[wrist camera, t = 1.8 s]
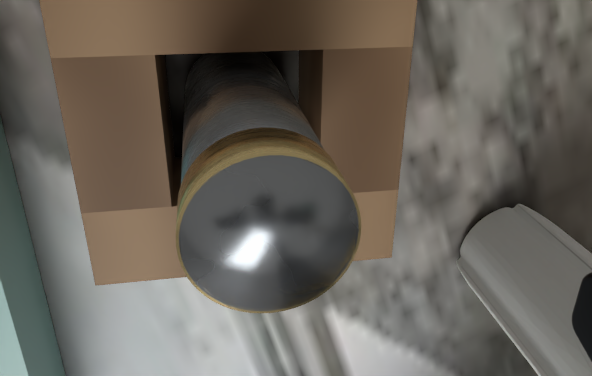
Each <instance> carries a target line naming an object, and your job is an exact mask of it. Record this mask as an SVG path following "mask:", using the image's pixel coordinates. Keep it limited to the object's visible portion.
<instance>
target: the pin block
mask: <svg viewBox="0 0 592 376" xmlns="http://www.w3.org/2000/svg"><path fill="white" fill-rule="evenodd" d="M39 2H40V7H41V12H42V17H43V22H44V27H45V32H46V37H47V42H48V47H49V52H50V57H51V62H52V67H53V73H54V78H55V83H56V88H57V93H58V98H59V103H60V108H61V113H62V118H63V123H64V128H65V133H66V138H67V143H68V148H69V154H70V159H71V164H72V169H73V174H74V179H75V184H76V189H77V194H78V199H79V204H80V209H81V214H82V219H83V224H84V230H85V235H86V240H87V245H88V250H89V255H90V260H91V265H92V270H93V275H94V280H95V285H105V284H116V283H126V282H137V281H148V280H158V279H169V278H179V277H187V276H186V274H185V273H184V271H183V269H182V267H181V264H180V261H179V259H178V254H177V249H176V221H177V203H178V194H179V190H180V187H181V170H182V157H179V158H175V151H174V141H173V131H172V122H171V112H170V102H169V92H168V83H167V73H166V63H165V55H166V54H198V53H229V52H260V51H292V50H299V107H300V108H301V110H302V112H303V114H304V115H305V117H306V119H307V120H308V122H309V124H310V126H311V127H312V129H313V131H314V133H315V134H316V136H317V138H318V139H319V141H320V143H321V145H322V146H323V148H324V150H325V151H326V152H327V153H328V154H329V155H330V157H331V158H332V159H333V161H334V162H335V164H336V165H337V167H338V169H339V170H340V172H341V174H342V175H343V177H344V179H345V181H346V182H347V184H348V186H349V187H350V189H351V191H352V193H353V195H354V197H355V199H356V201H357V204H358V207H359V210H360V216H361V236H360V242H359V246H358V249H357V252H356V254H355V257H354V259H353V261H359V260H369V259H380V258H390V257H392V247H393V237H394V227H395V217H396V207H397V197H398V187H399V177H400V167H401V157H402V147H403V137H404V127H405V117H406V107H407V97H408V88H409V78H410V68H411V58H412V48H413V38H414V28H415V18H416V8H417V0H39Z"/></svg>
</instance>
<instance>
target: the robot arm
mask: <svg viewBox="0 0 592 376" xmlns="http://www.w3.org/2000/svg"><path fill="white" fill-rule="evenodd" d="M572 326H573V329H574V332H575V334H576V336H577V337H578V339H579V341H580V343H581V344H582V346H583V348H584V350H585V351H586V353H587V355H588V357H589V358H590V360H591V362H592V272H591V273H589V274H586V275H585V277H584V278H583V279H582V282H581V285H580V288H579V292H578V295H577V299H576V302H575V305H574V309H573V312H572Z"/></svg>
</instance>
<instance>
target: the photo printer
mask: <svg viewBox="0 0 592 376" xmlns="http://www.w3.org/2000/svg"><path fill="white" fill-rule="evenodd" d="M460 255H461V257H460V258H459V259H458V260H457V261H456V264H457V266H458V268H459V270H460V272H461V274H462V275H463V277H464V279H465V280H466V282H467V283H468V285H469V286H470V287H471V288H472V290H473V291H474V292H475V294H476V295H477V296H478V297H479V299H480V300H481V301H482V303H483V304H484V305H485V307H486V308H487V309H488V310H489V312H490V313H491V314H492V316H493V317H494V318H495V320H496V321H497V322H498V323H499V325H500V326H501V327H502V329H503V330H504V331H505V333H506V334H507V335H508V336H509V338H510V339H511V340H512V342H513V343H514V344H515V346H516V347H517V348H518V349H519V351H520V352H521V353H522V355H523V356H524V357H525V359H526V360H527V361H528V362H529V364H530V365H531V366H532V368H533V369H534V370H535V372H536V373H537V374H538V375H539V376H592V362H591V360H590V358H589V357H588V355H587V353H586V351H585V350H584V348H583V346H582V344H581V343H580V341H579V339H578V337H577V336H576V334H575V332H574V329H573V326H572V312H573V309H574V305H575V302H576V299H577V295H578V292H579V288H580V285H581V282H582V279H583V278H584V277H585V275H586V274H589V273H591V272H592V253H590V252H589V251H588V250H587V249H585V248H584V247H583V246H582V245H581V244H579V243H578V242H577V241H575V240H574V239H573V238H572V237H570V236H569V235H568V234H567V233H565V232H564V231H563V230H562V229H560V228H559V227H558V226H557V225H555V224H554V223H553V222H551V221H550V220H548V219H547V218H545V217H544V216H542V215H541V214H539V213H537V212H536V211H534V210H532V209H530V208H528V207H526V206H524V205H522V204H517V205H516V206H515V207H514V208H509V207H505V208H501V209H498V210H496V211H494V212H492V213H490V214H489V215H487V216H486V217H484V218H483V219H481V220H480V221H479V222H478V223H477V224H476V225H475V226H474V227H473V228H472V229H471V230H470V231H469V233H468V234H467V235H466V237H465V239H464V241H463V243H462V245H461V248H460Z"/></svg>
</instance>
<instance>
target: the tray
mask: <svg viewBox="0 0 592 376" xmlns="http://www.w3.org/2000/svg"><path fill="white" fill-rule="evenodd" d="M0 376H65V372H64V368H63V364H62V360H61V356H60V352H59V348H58V344H57V340H56V336H55V332H54V328H53V324H52V320H51V316H50V312H49V308H48V304H47V300H46V296H45V292H44V288H43V284H42V280H41V276H40V272H39V268H38V264H37V260H36V256H35V252H34V248H33V244H32V240H31V236H30V232H29V228H28V224H27V220H26V216H25V212H24V208H23V204H22V200H21V196H20V192H19V188H18V184H17V180H16V176H15V172H14V168H13V164H12V160H11V156H10V152H9V148H8V144H7V140H6V136H5V132H4V128H3V125H2V121H1V117H0Z"/></svg>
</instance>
